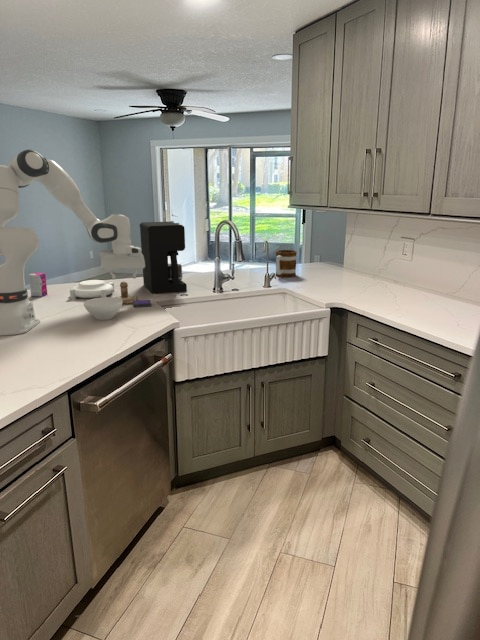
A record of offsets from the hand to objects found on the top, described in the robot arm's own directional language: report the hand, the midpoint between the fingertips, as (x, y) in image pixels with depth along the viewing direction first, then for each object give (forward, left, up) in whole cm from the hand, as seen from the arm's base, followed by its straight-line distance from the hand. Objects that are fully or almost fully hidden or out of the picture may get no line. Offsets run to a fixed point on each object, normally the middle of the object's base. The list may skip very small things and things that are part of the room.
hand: (124, 278), depth 217 cm
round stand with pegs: (+19, +17, -12) cm, 28 cm away
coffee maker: (+25, -21, -12) cm, 35 cm away
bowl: (-25, +8, -12) cm, 29 cm away
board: (+1, 0, -12) cm, 12 cm away
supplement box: (+23, +43, -12) cm, 51 cm away
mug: (+44, -94, -12) cm, 104 cm away
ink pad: (-7, -8, -12) cm, 15 cm away
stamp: (+2, 0, -11) cm, 11 cm away
